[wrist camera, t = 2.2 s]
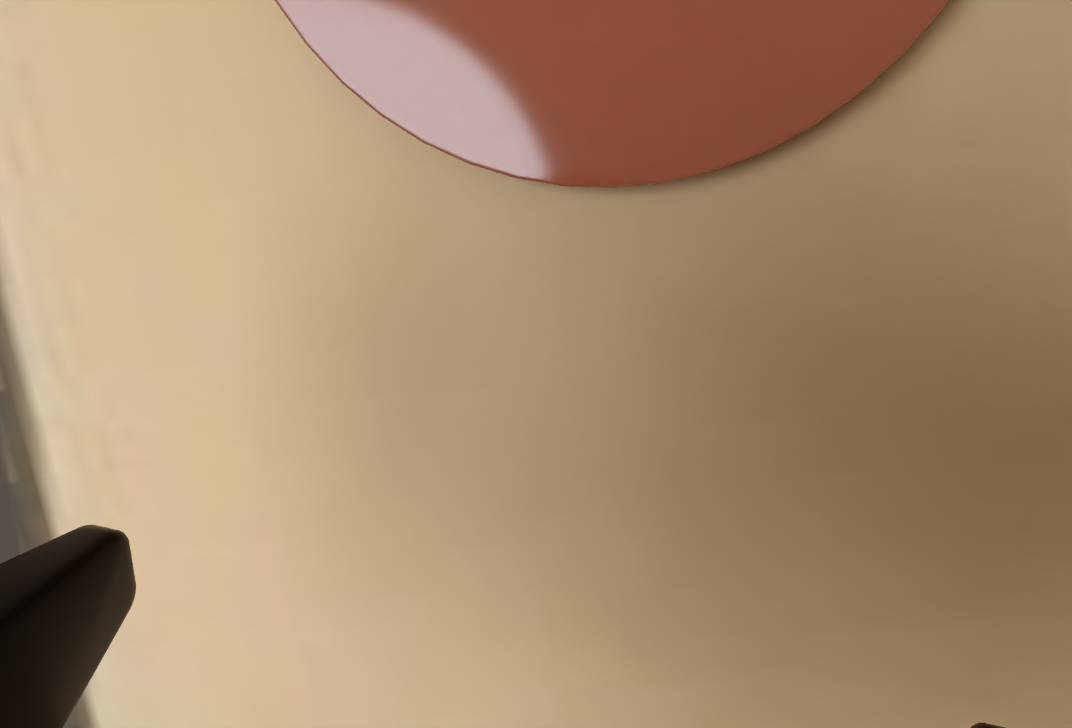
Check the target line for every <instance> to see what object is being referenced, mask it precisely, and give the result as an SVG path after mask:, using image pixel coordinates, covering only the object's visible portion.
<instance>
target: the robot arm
mask: <svg viewBox="0 0 1072 728" xmlns="http://www.w3.org/2000/svg"><path fill="white" fill-rule="evenodd" d="M135 591H136V582H135V576H134V570H133V563H132V557H131V551H130V545H129V540H128V538H127V536H126V535H125V534H124V533H123V532H121V531H119V530H114V529H110V528H105V527H101V526H96V525H86V526H82V527H79V528H77V529H75V530H73V531H70V532H68V533H66V534H64V535H62V536H60V537H57V538H55V539H53V540H51V541H49V542H47V543H44V544H42V545H40V546H38V547H36V548H34V549H31V550H29V551H27V552H25V553H23V554H21V555H18V556H16V557H14V558H12V559H10V560H8V561H6V562H4V563H1V564H0V728H63V727H64V725H65V723H66V722H67V720H68V718H69V717H70V715H71V713H72V711H73V710H74V708H75V706H76V704H77V702H78V701H79V699H80V697H81V695H82V694H83V692H84V690H85V688H86V686H87V685H88V683H89V681H90V679H91V678H92V676H93V674H94V672H95V670H96V669H97V667H98V665H99V663H100V661H101V660H102V658H103V656H104V654H105V653H106V651H107V649H108V647H109V645H110V644H111V642H112V640H113V638H114V637H115V635H116V633H117V631H118V629H119V628H120V626H121V624H122V622H123V621H124V619H125V617H126V615H127V613H128V612H129V610H130V608H131V606H132V603H133V600H134V597H135ZM971 728H1005V727H1000V726H996V725H991V724H987V723H977V724H975V725H973V726H971Z"/></svg>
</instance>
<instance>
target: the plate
mask: <svg viewBox="0 0 1072 728" xmlns="http://www.w3.org/2000/svg"><path fill="white" fill-rule="evenodd" d="M275 1H276V3H277V4H278V6H279V7H280V9H281V10H282V11H283V13H284V14H285V15H286V17H287V18H288V20H289V21H290V22H291V24H292V25H293V27H294V28H295V29H296V31H297V32H298V33H299V35H300V36H301V38H302V39H303V40H304V42H305V43H306V45H307V46H308V47H309V48H310V49H311V50H312V51H313V52H314V53H315V55H316V56H317V57H318V58H319V59H320V60H321V61H322V62H323V63H324V64H325V65H326V66H327V67H328V69H329V70H330V71H331V72H332V73H333V74H334V75H335V76H336V77H337V78H338V79H339V80H340V81H341V82H342V84H344V85H345V86H346V87H347V88H348V89H350V90H351V91H352V92H353V93H354V94H356V95H357V96H358V97H359V98H360V99H362V100H363V101H364V102H365V103H366V104H368V105H369V106H370V107H371V108H372V109H374V110H375V111H376V112H377V113H378V114H380V115H381V116H382V117H384V118H385V119H387V120H388V121H390V122H392V123H393V124H395V125H396V126H398V127H399V128H401V129H403V130H404V131H406V132H407V133H409V134H411V135H412V136H414V137H415V138H417V139H418V140H420V141H422V142H423V143H425V144H427V145H429V146H432V147H434V148H436V149H438V150H440V151H442V152H445V153H447V154H449V155H451V156H453V157H455V158H458V159H460V160H462V161H464V162H466V163H468V164H472V165H475V166H478V167H481V168H485V169H488V170H491V171H494V172H497V173H501V174H504V175H507V176H510V177H514V178H518V179H524V180H530V181H536V182H542V183H548V184H554V185H560V186H574V187H607V188H616V187H626V186H636V185H646V184H655V183H664V182H669V181H673V180H677V179H681V178H685V177H690V176H694V175H698V174H702V173H706V172H711V171H715V170H717V169H720V168H723V167H725V166H728V165H731V164H733V163H736V162H739V161H741V160H744V159H747V158H749V157H752V156H754V155H757V154H760V153H762V152H765V151H767V150H769V149H770V148H772V147H774V146H776V145H778V144H780V143H782V142H784V141H786V140H787V139H789V138H791V137H793V136H795V135H797V134H799V133H801V132H803V131H804V130H806V129H808V128H810V127H812V126H814V125H815V124H816V123H818V122H819V121H821V120H822V119H824V118H825V117H826V116H828V115H829V114H831V113H832V112H834V111H835V110H836V109H838V108H839V107H841V106H842V105H844V104H845V103H846V102H848V101H849V100H851V99H852V98H854V97H855V96H856V95H858V94H859V93H860V92H861V91H863V90H864V89H865V88H866V87H867V86H868V85H869V84H870V83H872V82H873V81H874V80H875V79H876V78H877V77H878V76H879V75H880V74H882V73H883V72H884V71H885V70H886V69H887V68H888V67H889V66H890V65H892V64H893V63H894V62H895V61H896V60H897V59H898V58H899V57H901V56H902V55H903V54H904V52H905V51H906V50H907V49H908V48H909V47H910V46H911V44H912V43H913V42H914V41H915V40H916V39H917V38H918V37H919V35H920V34H921V33H922V32H923V31H924V30H925V29H926V27H927V26H928V25H929V24H930V23H931V22H932V21H933V20H934V18H935V17H936V16H937V15H938V14H939V13H940V12H941V10H942V9H943V8H944V6H945V5H946V3H947V2H948V0H275Z"/></svg>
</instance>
